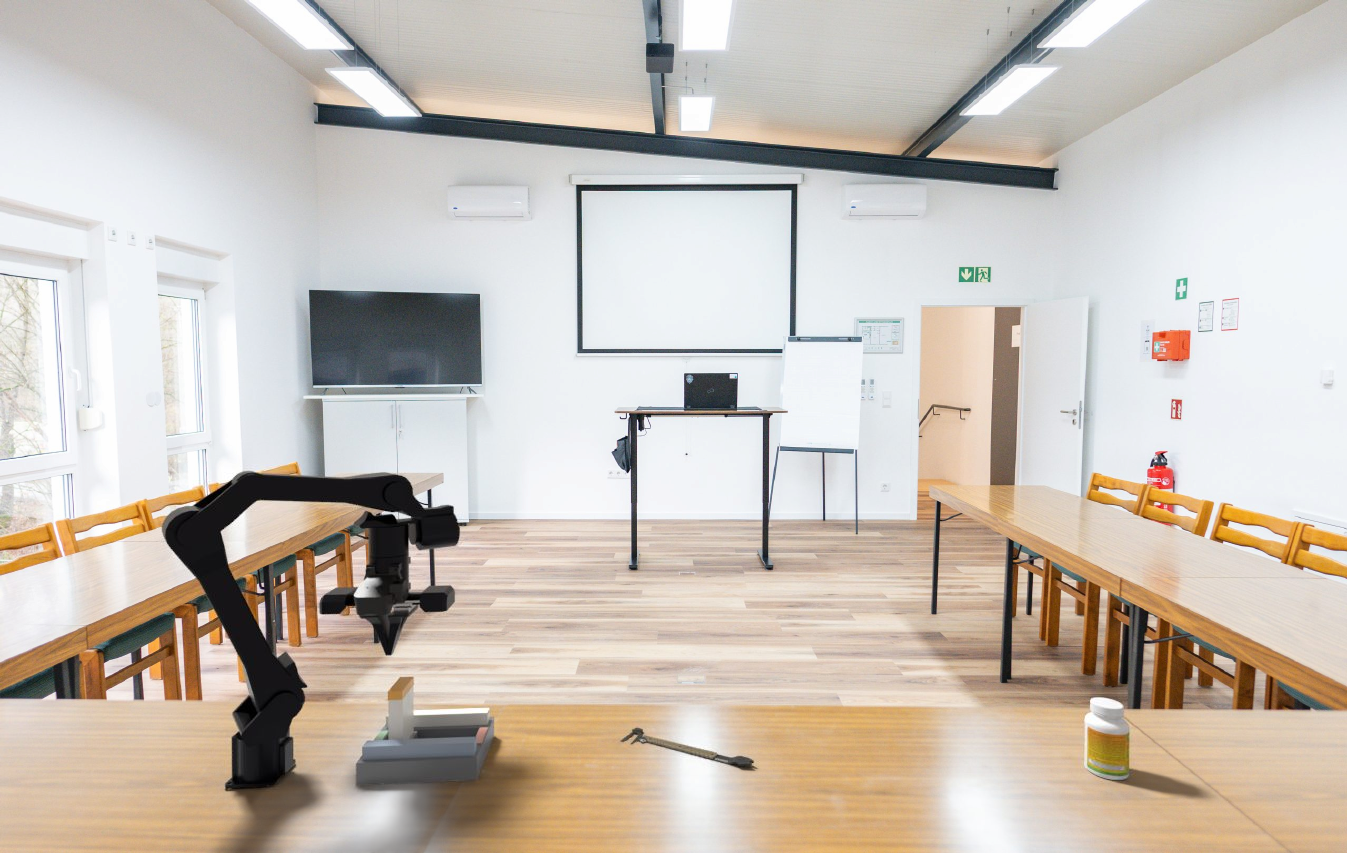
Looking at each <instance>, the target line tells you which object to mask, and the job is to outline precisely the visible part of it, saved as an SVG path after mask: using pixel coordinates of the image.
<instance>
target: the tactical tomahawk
mask: <svg viewBox="0 0 1347 853" xmlns="http://www.w3.org/2000/svg"><path fill="white" fill-rule="evenodd" d="M643 734H644V731H643V728H641V727H634V728H632V730H631V732H629V734H628V735H625V737H624V738H622V739H620V742H621V743H624V742H627V741H628V740H629V739H630V738H632V737H633V736H634V735H636V737H635V738H634V739H633V740H632V741H631V743H630V746H631V745H634V744H636V743H640V744H642V745H644V744H650V745H655V746H659V747H661V748H662V747H663V748H666V749H668V750H673V751H676V752H680V753H684V754H687V755H692V756H695V757H700V758H703V759H707V760H710V761H715V762H716V763H717V762H718V763H720V764H721V763H722V764H724V765H728V766H730V765H734V764H735V765H737V766H740V767H743V766H744V767H745V766H752V765H753V764H754V763H755V761H754V760H753V758H750V757H748V756H743V755H736V756H732V757H730V756H726V755H722V754H718V752H715V751H712V750H708V749H703V748H698V747H695V746H693V745H692V746H690V745H688V744H687V745H686V744H683V743H679V742H675V741H670V740H667V739H662V738H657V737H653V736H649V735H646V734H645V735H643Z"/></svg>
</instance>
